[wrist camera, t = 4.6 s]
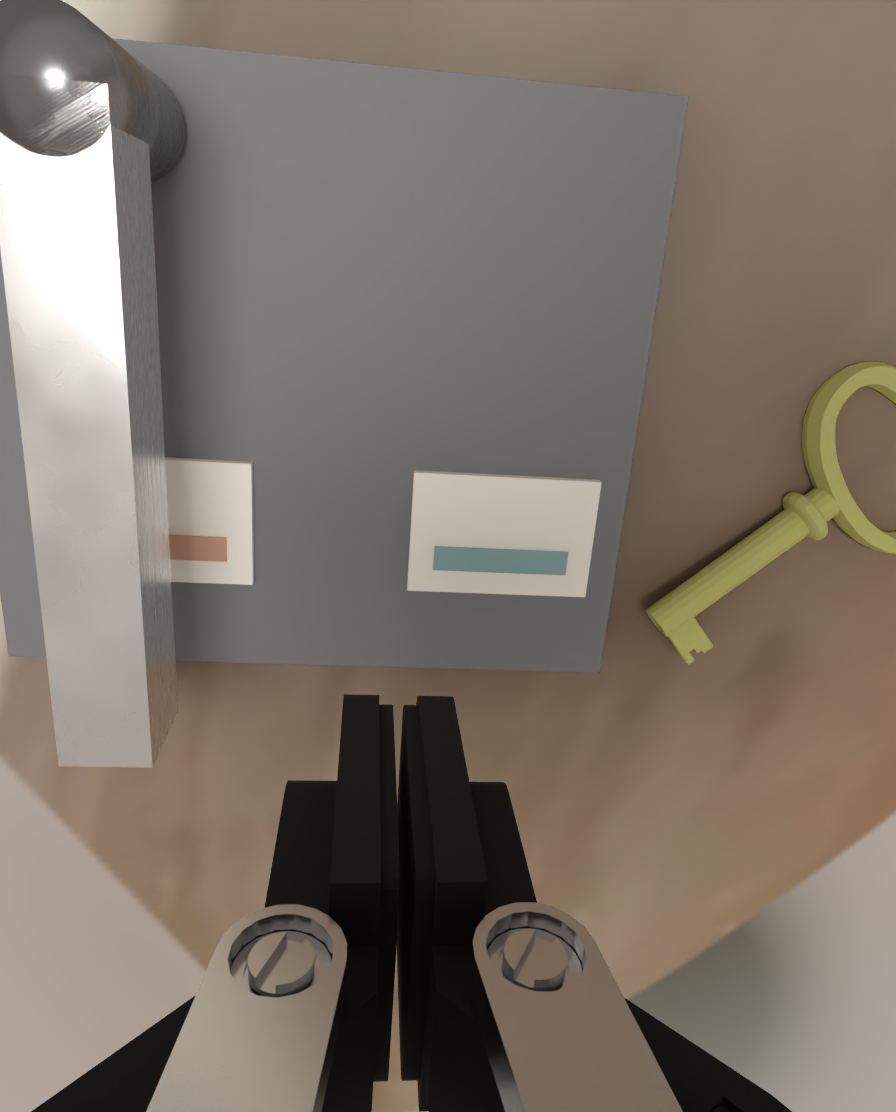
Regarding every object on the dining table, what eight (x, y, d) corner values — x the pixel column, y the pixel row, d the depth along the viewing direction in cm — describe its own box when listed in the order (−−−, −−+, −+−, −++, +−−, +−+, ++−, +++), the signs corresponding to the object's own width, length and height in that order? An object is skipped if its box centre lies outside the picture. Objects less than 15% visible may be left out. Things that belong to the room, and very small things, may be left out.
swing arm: (183, 69, 21) (113, 1, 15) (205, 665, 26) (160, 767, 21) (71, 58, 20) (-41, -15, 15) (118, 663, 26) (51, 766, 21)
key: (620, 608, 29) (638, 634, 27) (856, 332, 27) (895, 337, 25) (755, 702, 31) (781, 732, 29) (989, 453, 29) (1034, 468, 27)
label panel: (670, 106, 23) (694, 93, 22) (589, 653, 29) (602, 678, 28) (-45, 35, 21) (-84, 15, 20) (27, 636, 28) (3, 661, 26)
